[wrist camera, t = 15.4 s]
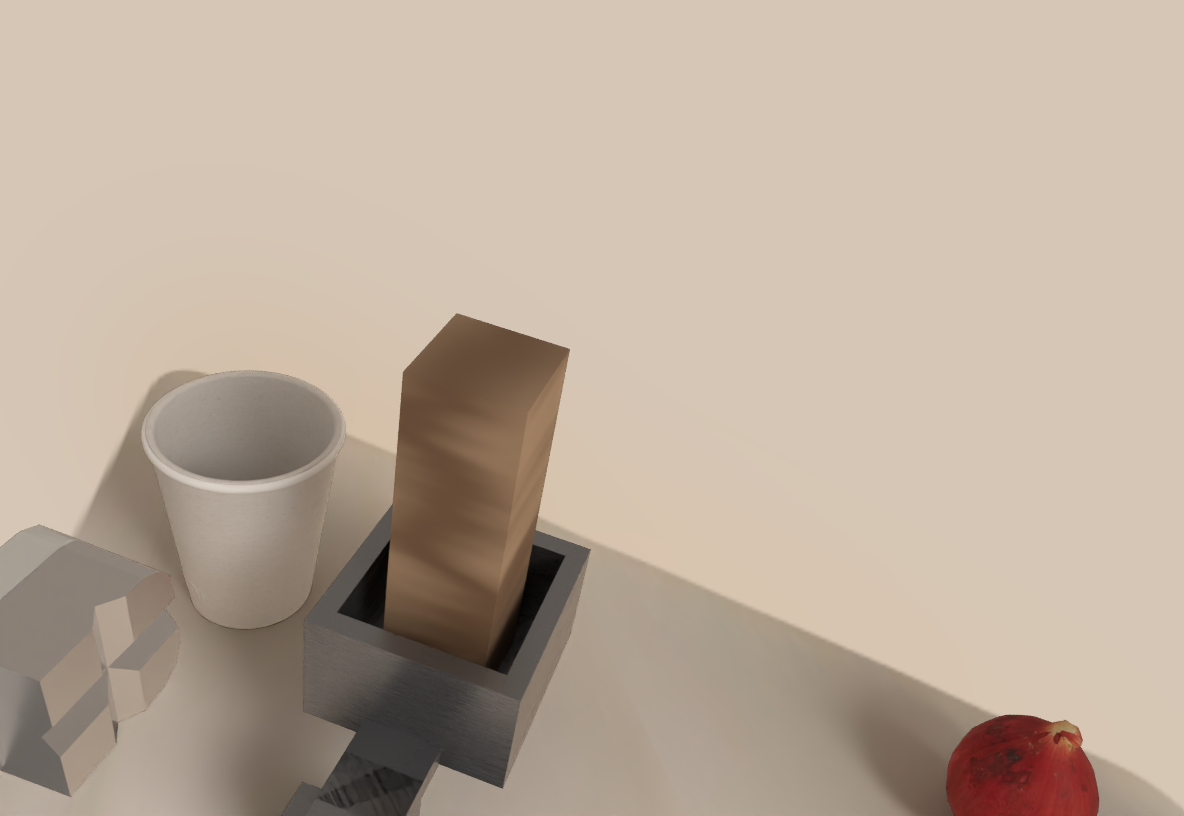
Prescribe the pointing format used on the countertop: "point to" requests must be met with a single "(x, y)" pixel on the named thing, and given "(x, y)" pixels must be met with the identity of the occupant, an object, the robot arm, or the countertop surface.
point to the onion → (1021, 770)
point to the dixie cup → (245, 489)
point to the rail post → (470, 486)
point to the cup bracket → (425, 684)
